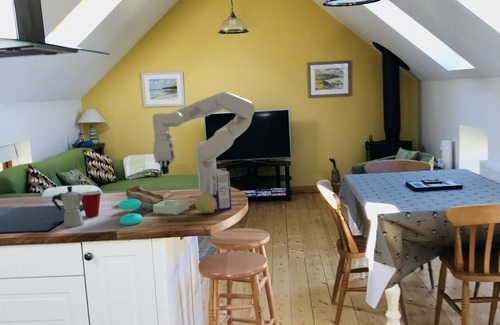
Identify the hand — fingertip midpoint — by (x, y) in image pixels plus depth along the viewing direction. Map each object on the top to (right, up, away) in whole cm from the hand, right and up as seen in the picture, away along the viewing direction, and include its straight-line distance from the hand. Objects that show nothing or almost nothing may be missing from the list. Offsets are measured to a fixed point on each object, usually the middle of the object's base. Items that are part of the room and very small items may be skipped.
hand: (165, 173), depth 256 cm
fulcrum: (-9, -18, -4) cm, 21 cm away
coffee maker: (-39, -23, -26) cm, 52 cm away
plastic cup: (-34, -21, -10) cm, 41 cm away
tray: (+5, -18, -11) cm, 22 cm away
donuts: (-11, -22, -27) cm, 36 cm away
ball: (+8, -16, -13) cm, 22 cm away
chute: (-8, -11, -1) cm, 14 cm away
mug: (-18, -16, +15) cm, 28 cm away
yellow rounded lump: (+23, -19, -19) cm, 35 cm away
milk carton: (+30, -17, -11) cm, 36 cm away
